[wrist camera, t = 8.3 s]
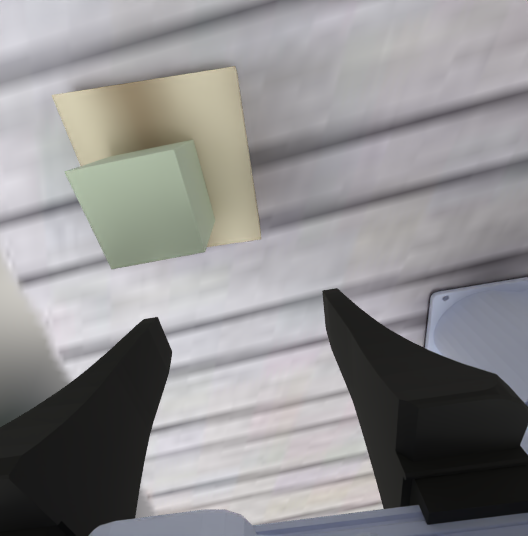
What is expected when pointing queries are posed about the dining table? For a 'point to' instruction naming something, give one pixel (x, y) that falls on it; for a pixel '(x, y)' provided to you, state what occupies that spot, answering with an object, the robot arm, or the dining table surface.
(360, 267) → the dining table surface
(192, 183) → the sage cube
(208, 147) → the beige block
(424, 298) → the dining table surface
